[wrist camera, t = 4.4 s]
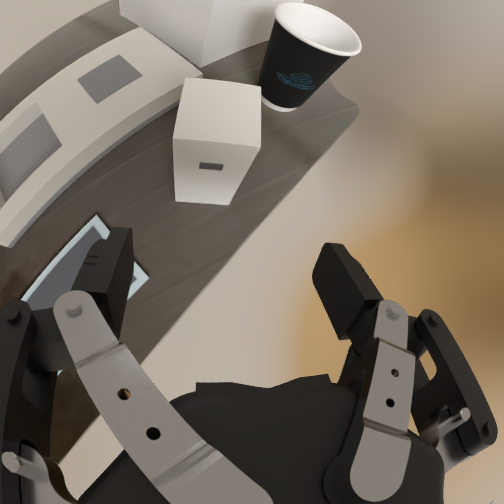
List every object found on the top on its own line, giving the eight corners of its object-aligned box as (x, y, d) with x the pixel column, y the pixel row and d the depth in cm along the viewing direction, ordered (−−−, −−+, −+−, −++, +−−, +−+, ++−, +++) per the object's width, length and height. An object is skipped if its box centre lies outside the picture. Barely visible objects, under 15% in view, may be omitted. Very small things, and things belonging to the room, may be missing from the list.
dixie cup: (266, 131, 25) (313, 54, 14) (230, 78, 25) (257, 0, 14) (324, 115, 27) (378, 55, 16) (288, 68, 27) (325, 4, 17)
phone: (53, 380, 17) (49, 384, 16) (10, 321, 17) (4, 322, 16) (150, 278, 21) (148, 277, 20) (99, 217, 20) (96, 214, 19)
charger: (228, 206, 23) (260, 149, 13) (175, 202, 22) (172, 140, 12) (230, 158, 23) (261, 86, 14) (181, 154, 22) (185, 77, 13)
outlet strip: (11, 248, 17) (-7, 242, 14) (-20, 169, 16) (-34, 158, 13) (199, 92, 24) (203, 72, 21) (141, 44, 23) (140, 26, 20)
